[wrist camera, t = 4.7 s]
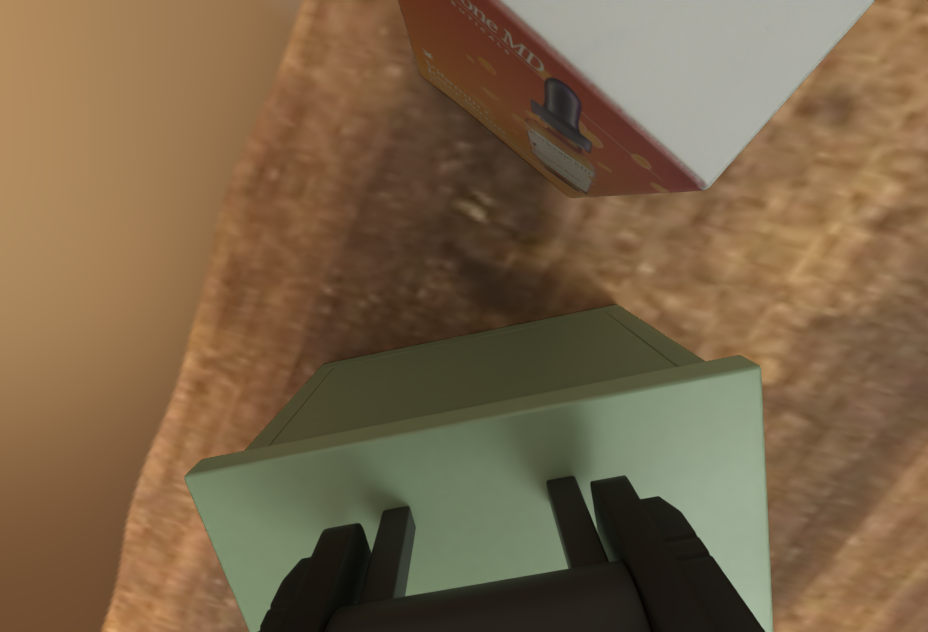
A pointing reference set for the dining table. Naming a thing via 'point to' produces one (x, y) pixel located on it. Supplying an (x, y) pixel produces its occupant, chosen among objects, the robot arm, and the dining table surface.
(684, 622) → the robot arm
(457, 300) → the dining table surface
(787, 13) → the small box
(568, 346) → the chest
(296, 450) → the lid
